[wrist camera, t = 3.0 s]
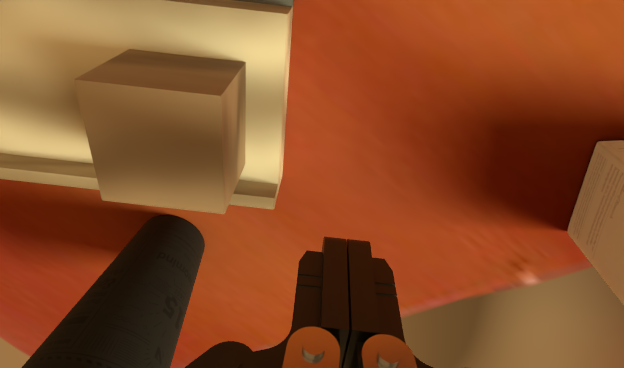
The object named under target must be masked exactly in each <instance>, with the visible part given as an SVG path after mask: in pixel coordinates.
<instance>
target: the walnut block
mask: <svg viewBox="0 0 624 368" xmlns="http://www.w3.org/2000/svg"><path fill="white" fill-rule="evenodd" d="M74 83H75V87H76V91H77V95H78V100H79V104H80V108H81V113H82V117H83V121H84V125H85V130H86V134H87V138H88V143H89V147H90V151H91V155H92V160H93V164H94V168H95V173H96V177H97V181H98V185H99V190H100V194H101V198H102V200H103V201H112V202H121V203H130V204H139V205H148V206H157V207H165V208H174V209H183V210H192V211H201V212H210V213H219V214H225V212H226V210H227V207H228V205H229V202H230V200H231V197H232V195H233V193H234V190H235V188H236V185H237V183H238V180H239V178H240V176H241V173H242V171H243V168H244V166H245V139H246V62H241V61H232V60H223V59H214V58H205V57H196V56H187V55H178V54H169V53H160V52H151V51H143V50H134V49H128V50H127V51H125V52H123V53H121V54H119V55H117V56H116V57H114V58H112V59H110V60H108V61H106V62H105V63H103V64H101V65H99V66H97V67H96V68H94V69H92V70H90V71H88V72H86V73H85V74H83V75H81V76H79V77H77V78H76V79H74Z"/></svg>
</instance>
